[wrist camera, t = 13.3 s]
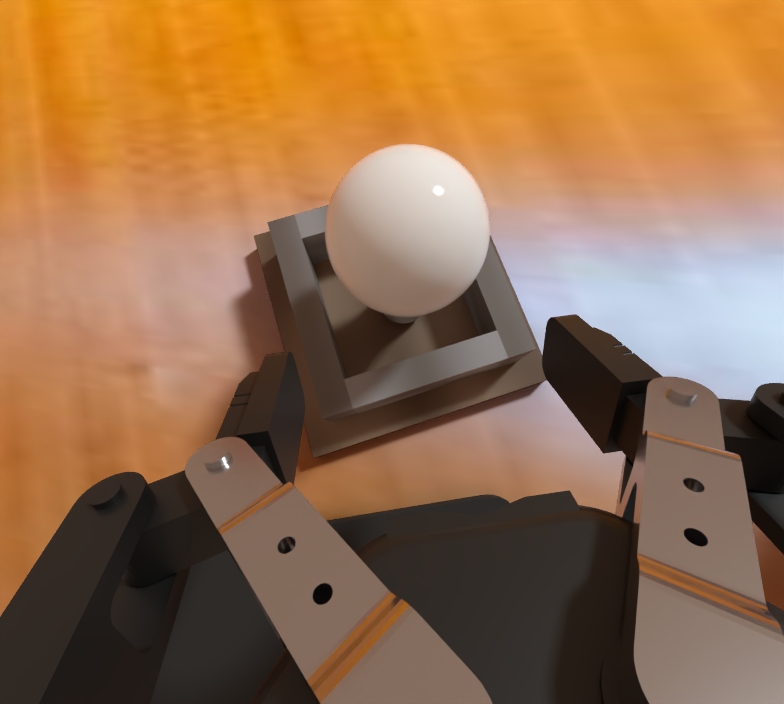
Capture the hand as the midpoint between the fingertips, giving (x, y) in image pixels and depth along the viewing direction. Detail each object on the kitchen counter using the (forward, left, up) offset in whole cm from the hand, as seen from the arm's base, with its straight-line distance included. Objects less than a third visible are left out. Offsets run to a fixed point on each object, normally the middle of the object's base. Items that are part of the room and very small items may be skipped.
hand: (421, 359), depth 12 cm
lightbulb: (-1, -5, -10) cm, 11 cm away
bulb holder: (-1, -5, -11) cm, 12 cm away
